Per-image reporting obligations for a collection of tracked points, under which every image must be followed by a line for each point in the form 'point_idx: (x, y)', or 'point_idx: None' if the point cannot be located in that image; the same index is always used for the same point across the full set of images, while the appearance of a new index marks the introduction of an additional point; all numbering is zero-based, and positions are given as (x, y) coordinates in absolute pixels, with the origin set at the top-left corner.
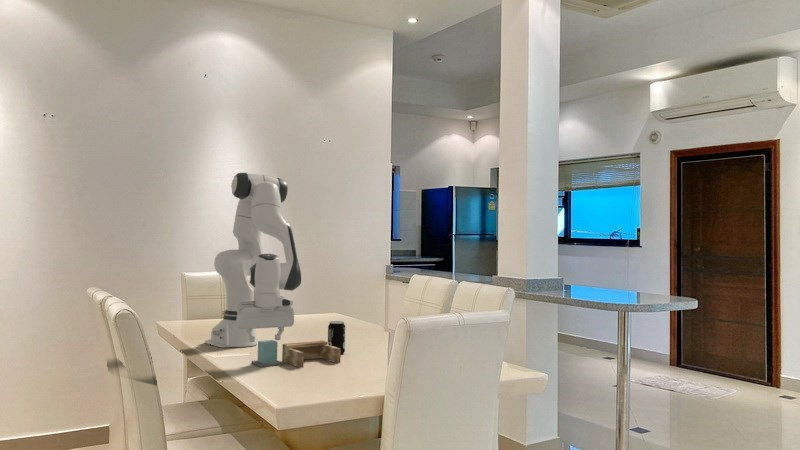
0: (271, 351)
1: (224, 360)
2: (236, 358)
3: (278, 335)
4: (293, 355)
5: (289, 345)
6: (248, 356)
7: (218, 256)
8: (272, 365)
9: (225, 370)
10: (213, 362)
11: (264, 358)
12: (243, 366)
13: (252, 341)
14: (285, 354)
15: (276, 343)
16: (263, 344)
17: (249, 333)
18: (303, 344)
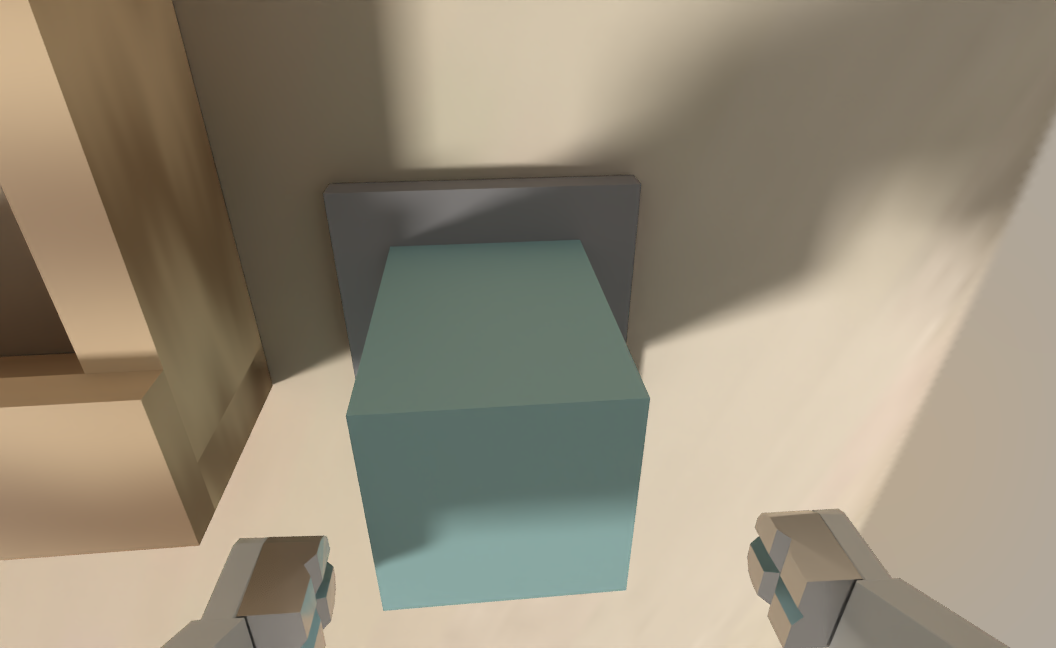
0: (475, 316)
1: (738, 583)
2: (622, 612)
3: (259, 607)
4: (121, 104)
5: (97, 402)
6: (505, 642)
7: None
8: (476, 180)
9: (1004, 222)
10: None
11: (577, 267)
12: (752, 317)
13: (803, 511)
14: (220, 365)
15: (373, 394)
16: (640, 394)
17: (982, 644)
18: None
